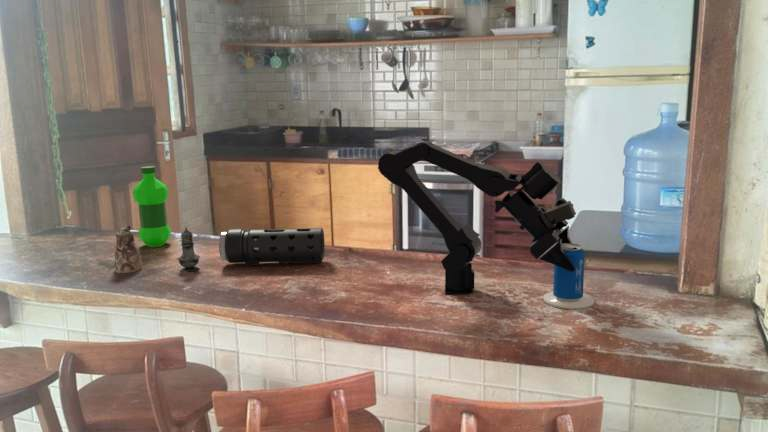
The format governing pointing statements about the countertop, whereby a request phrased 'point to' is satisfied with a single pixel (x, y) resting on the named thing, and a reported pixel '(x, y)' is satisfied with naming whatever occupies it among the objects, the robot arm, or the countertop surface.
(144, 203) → the plastic bottle
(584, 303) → the white round disc
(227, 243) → the muzzle brake
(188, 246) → the salt shaker
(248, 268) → the countertop surface
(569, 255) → the beverage can
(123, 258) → the figurine
